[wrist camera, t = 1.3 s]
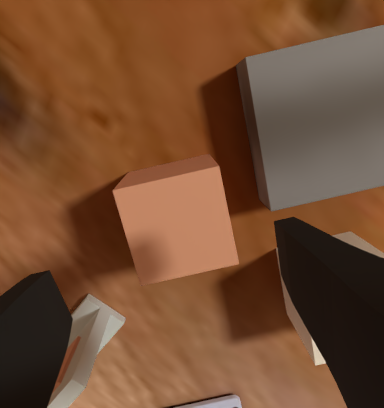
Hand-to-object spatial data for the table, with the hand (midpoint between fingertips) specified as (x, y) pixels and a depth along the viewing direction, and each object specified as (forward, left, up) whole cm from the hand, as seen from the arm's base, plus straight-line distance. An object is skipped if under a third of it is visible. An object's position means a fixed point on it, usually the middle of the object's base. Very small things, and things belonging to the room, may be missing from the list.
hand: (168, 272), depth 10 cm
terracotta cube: (0, 0, -10) cm, 10 cm away
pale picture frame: (-8, +9, -10) cm, 16 cm away
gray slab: (+3, -9, -11) cm, 14 cm away
